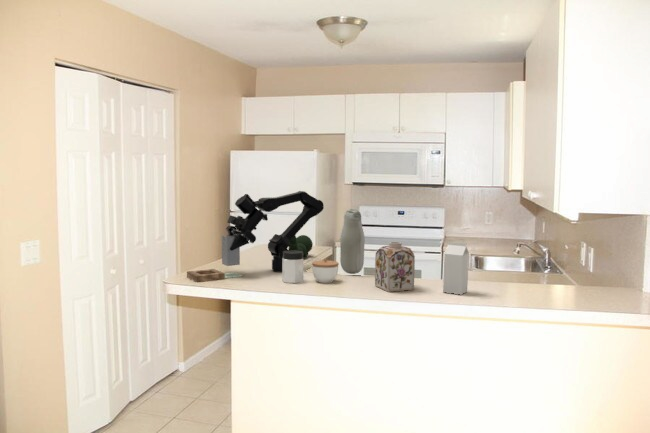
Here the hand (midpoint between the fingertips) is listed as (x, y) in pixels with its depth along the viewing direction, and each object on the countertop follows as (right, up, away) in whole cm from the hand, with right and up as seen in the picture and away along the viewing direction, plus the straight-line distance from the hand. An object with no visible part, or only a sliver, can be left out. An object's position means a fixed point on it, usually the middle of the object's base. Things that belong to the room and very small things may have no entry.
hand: (227, 249), depth 243 cm
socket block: (-8, -12, -4) cm, 15 cm away
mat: (+1, -11, +2) cm, 11 cm away
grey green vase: (+52, -11, +12) cm, 55 cm away
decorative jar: (+67, -14, -17) cm, 71 cm away
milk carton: (+90, -15, -22) cm, 94 cm away
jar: (+27, -13, -7) cm, 31 cm away
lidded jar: (+41, -13, -6) cm, 43 cm away
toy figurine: (+28, -8, +47) cm, 56 cm away
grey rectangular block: (+1, -6, +1) cm, 7 cm away
